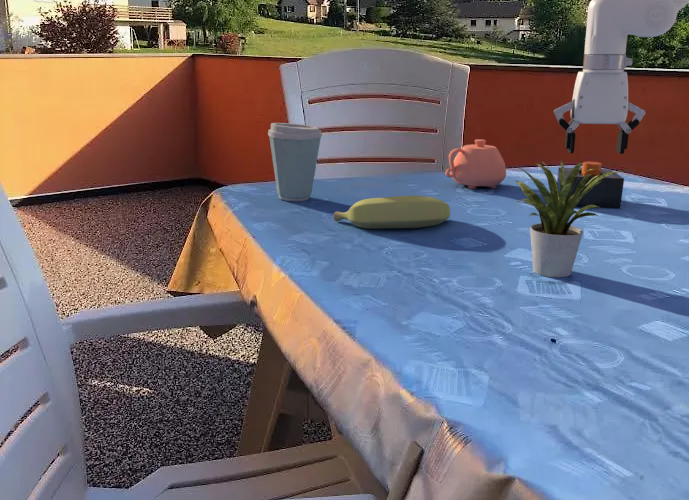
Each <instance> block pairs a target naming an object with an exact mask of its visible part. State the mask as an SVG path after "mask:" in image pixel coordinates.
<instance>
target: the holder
mask: <svg viewBox="0 0 689 500" xmlns="http://www.w3.org/2000/svg"><path fill="white" fill-rule="evenodd" d="M573 168H574V167H564V170H565V183H566V180H567V178H568V176H569V174H570V172H571V171H572V169H573ZM609 172H615V171H614V170H612V169H609V168H601V174H600V175H599V176H601V175H603V174H606V173H609ZM560 175H561V166H559V167H558V169H557V178H556V182H557V185H558V189H559V193H560ZM585 176H586V175H582V167H581V168H580V171H579V172H578V174H577V176H576V178H575V180H574V182H573V185H572V188H571V191H572V192H571V191H570V193H571V194H570V197H571V196H572V195H573V194H575V191H576V189H577V187H578V185H579V183H580V182H581V180H582V179H583V178H584V177H585ZM595 176H597V177H599V176H598V175H591V176H589V178H588V179H587V181H586V182H585V184H584V186H585V185H586V184H587V183H588V182H589V181H590V180H591V179H592V178H593V177H595ZM597 177H595V178H594V179H593V180H595V179H596V178H597ZM578 178H579V179H578ZM593 180H592V181H593ZM576 181H577V182H576ZM592 181H591V182H592ZM600 181H601V182H600ZM591 182H590V183H591ZM598 182H600V183H598ZM598 182H596V183H598V184H597V185H595V186H594V187H593V188H592V189H591V190H590V191H589V192H588V193H587V194H585V195H584V196H583V197H582V198H581V200H580V201H579V202H578V204H577V205H576V206H575V208H583V207H585V206H588V205H596V206H598V207H600V208H598V207H595V208H596V209H597V208H598V209H601V208H602V209H618V210H620V209H621V206H622V199H623V191H624V184H625V178H624V177H623V176H621V175H620V174H619V173H613V174H610V175H608V176H606V177H604V178H602V179H601V180H599V181H598ZM575 183H576V184H575ZM590 183H589V184H590ZM596 183H595V184H596ZM589 184H588V185H589ZM574 185H575V186H574ZM588 185H587V186H588ZM584 186H583V187H584ZM587 186H586V187H587ZM573 187H574V188H573ZM583 187H582V188H583ZM586 187H585V188H584V189H583V190H582V191H581V192H580V194H579V195H578V197H579V196H580V195H581V194H582V192H583V191H584V190H585V189H586ZM572 189H573V190H572ZM570 197H569V198H570Z"/></svg>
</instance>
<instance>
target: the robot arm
mask: <svg viewBox="0 0 689 500" xmlns="http://www.w3.org/2000/svg"><path fill="white" fill-rule="evenodd" d="M688 4H689V0H591V1H590V2H589V3H588V6H587V7H588V8H587V17H586V29H585V41H584V50H583V51H584V53H583V63H582V71H578V72H577V75H576V78H575V83H574V86H573V93H572V99H571V101H569V102H567V103H565V104H563V105H561V106H560V107H557V108H555V109H554V110H553V114H554V116H555V119H556V121H557V124H558V125H559V126H560V127H561V128H562V129H563V130H564V131H565V140H564V148H565V149H566V150H567V152H568V153H569V154H574V153H575V145H576V133H575V130H576V129H577V128H578V127H579V126H581V124H584V125H587V124H588V125H617V127H618V128H619V132H618V133H617V141H616V153H618V154H620V155H624V154H625V150H627V149H628V144H629V143H628V142H629V135H630V134H631V133H632V131H633V130H634V129H635V128H637V127H638V126H639V125H640V123H641V121H642V119H643V118H644V116H645V115H646V110H645V109H642V108H641V107H639V106H637V105H635V104H633V103H631V102H630V101H629V81H628V72H627V71H625V69H626V67H628V66H632V65H633V58H631V57H627V53H626V52H627V44H628V43H627V42H628V35H630V36H632V35H633V36H635V37H639V38H655V37H660V36H661V35H665V33H667V32H668V31H669V30H671V28H672V27H673V26H674V24H675V23H676V21H677V17H678V16H677V15H678V12H679V11H681V10H682V9H683V8H684V7H686V6H687V5H688ZM569 111H570V119H571V120H570V121H569V122H567V121H566V120H565V118H564V114H565V113H567V112H569ZM629 111H630V112H632V113H634V116H633V117H632V119H631V120H630V121H628V123H627V122H626V121H627V118H628V112H629Z"/></svg>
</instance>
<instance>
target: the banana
mask: <svg viewBox="0 0 689 500" xmlns="http://www.w3.org/2000/svg"><path fill="white" fill-rule="evenodd" d="M332 216H333V217H332V218H333V220H334V221H335V222H340V221H343V220H349V222H351V224H353V225H354V226H355V227H357V228H361V229H366V230H368V229H369V230H373V229H374V230H375V229H376V230H377V229H379V230H380V229H418V228H426V227H433V226H437V225H439V224H442V223H444V222H445V221H447V220H448V219H450V217H451V207H450V205H449V204H448V203H447V202H445V201H443V200H441V199H438V198H436V197H432V196H423V195H397V196H387V197H386V196H384V197H372V198H371V197H370V198H364V199H361V200H358V201H356V202H355V203H353V205H351V207H349V209H348V210H347V211H345V212H342V211H337V210H336V211H335V212H334V213H333V215H332Z"/></svg>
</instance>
